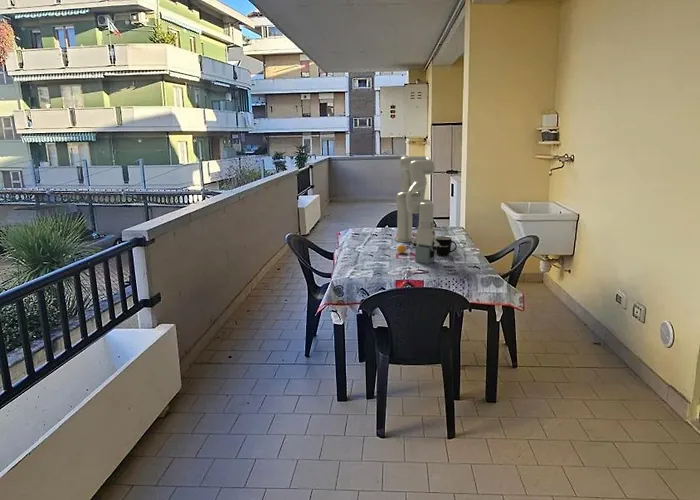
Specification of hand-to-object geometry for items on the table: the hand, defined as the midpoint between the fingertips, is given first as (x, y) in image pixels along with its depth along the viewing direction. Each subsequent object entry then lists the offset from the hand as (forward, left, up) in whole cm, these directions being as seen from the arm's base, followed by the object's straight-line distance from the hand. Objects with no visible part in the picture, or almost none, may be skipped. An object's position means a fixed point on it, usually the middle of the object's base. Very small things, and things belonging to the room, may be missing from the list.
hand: (425, 256), depth 274 cm
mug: (-19, +3, -3) cm, 19 cm away
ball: (-8, -20, -1) cm, 21 cm away
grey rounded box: (0, 0, -3) cm, 3 cm away
